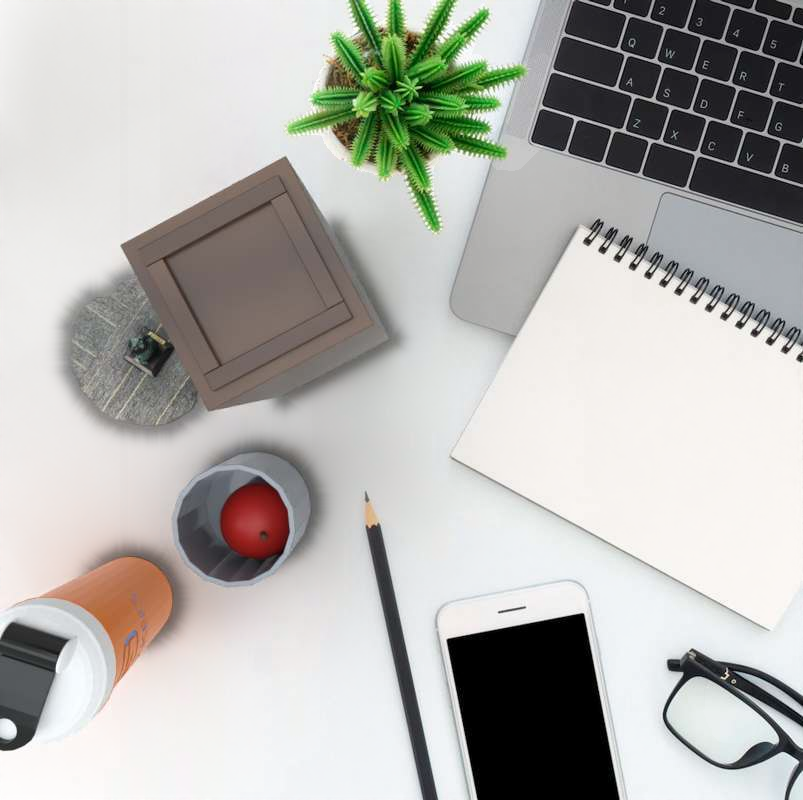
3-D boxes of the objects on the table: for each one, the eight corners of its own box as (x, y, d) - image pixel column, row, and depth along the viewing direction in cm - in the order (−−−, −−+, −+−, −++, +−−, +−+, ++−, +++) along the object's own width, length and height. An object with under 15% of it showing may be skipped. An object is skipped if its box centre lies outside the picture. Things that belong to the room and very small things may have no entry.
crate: (224, 287, 68) (116, 243, 44) (332, 230, 68) (284, 153, 44) (281, 396, 69) (205, 412, 44) (389, 339, 68) (373, 323, 44)
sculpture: (221, 280, 69) (204, 342, 63) (229, 365, 75) (215, 428, 69) (72, 273, 68) (42, 335, 62) (93, 359, 74) (68, 422, 69)
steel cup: (185, 482, 69) (150, 499, 60) (279, 433, 69) (258, 443, 60) (235, 576, 69) (208, 607, 60) (329, 528, 69) (316, 552, 60)
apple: (204, 495, 67) (207, 526, 61) (270, 458, 68) (280, 485, 61) (240, 555, 69) (247, 590, 62) (305, 518, 70) (318, 550, 63)
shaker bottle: (70, 642, 70) (-69, 752, 50) (85, 537, 69) (-49, 605, 49) (176, 659, 70) (79, 776, 50) (191, 554, 69) (100, 629, 49)
